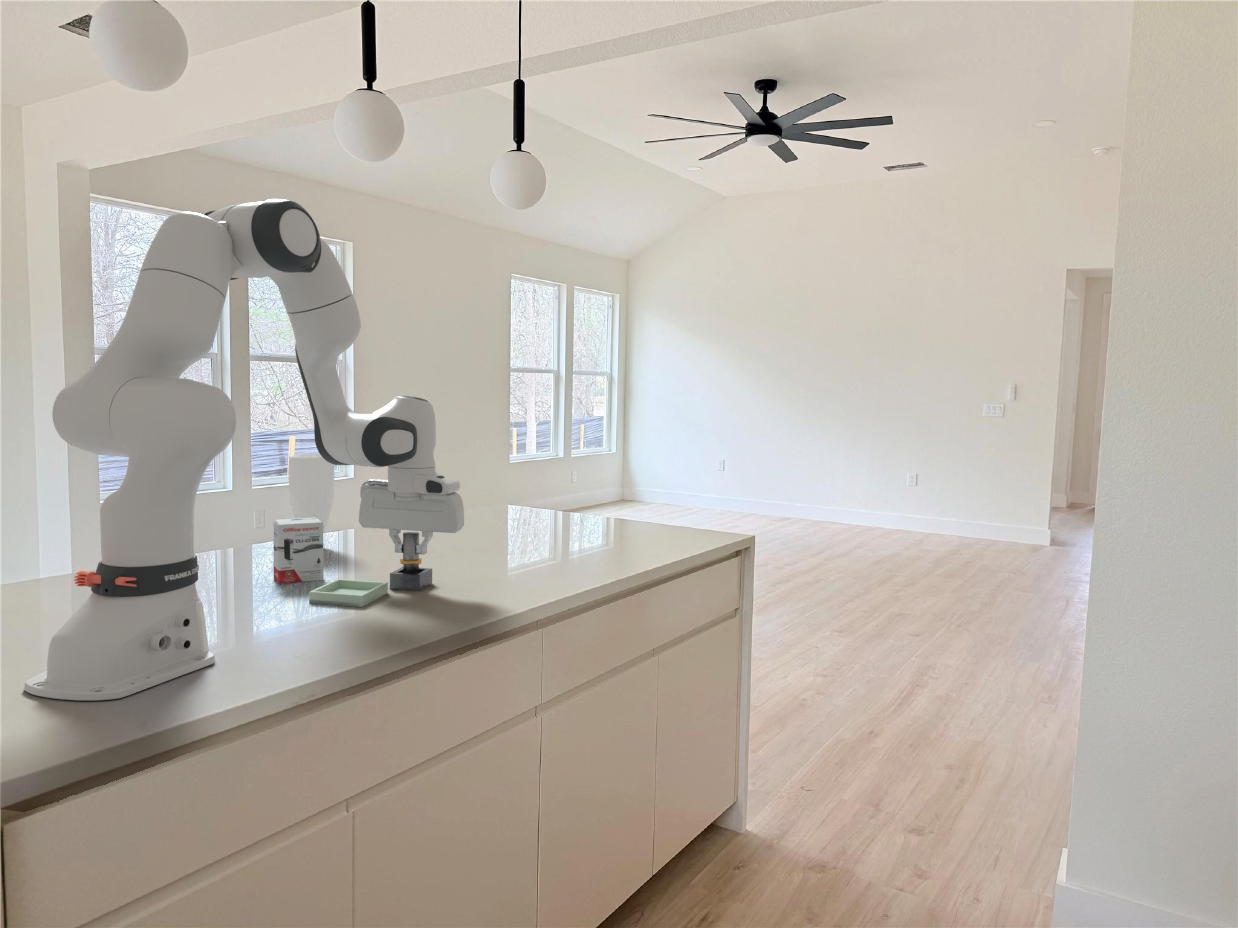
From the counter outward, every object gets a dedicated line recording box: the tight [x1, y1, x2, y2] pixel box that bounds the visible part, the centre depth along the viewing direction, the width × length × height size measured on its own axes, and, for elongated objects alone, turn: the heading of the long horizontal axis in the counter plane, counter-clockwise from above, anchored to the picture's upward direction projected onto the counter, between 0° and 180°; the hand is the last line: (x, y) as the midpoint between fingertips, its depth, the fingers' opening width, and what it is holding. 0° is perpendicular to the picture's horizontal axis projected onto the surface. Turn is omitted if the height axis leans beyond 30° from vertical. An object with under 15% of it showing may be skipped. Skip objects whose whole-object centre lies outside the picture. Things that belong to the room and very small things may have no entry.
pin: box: [399, 531, 422, 574], centre depth 157 cm, size 4×4×9 cm
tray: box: [308, 578, 389, 608], centre depth 148 cm, size 10×10×2 cm
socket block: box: [389, 566, 433, 592], centre depth 158 cm, size 6×6×3 cm
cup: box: [288, 453, 335, 534], centre depth 191 cm, size 10×10×22 cm
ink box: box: [273, 517, 324, 585], centre depth 161 cm, size 8×5×12 cm, turn 123°
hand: (410, 553), depth 157 cm, fingers closed on pin, 3 cm apart
